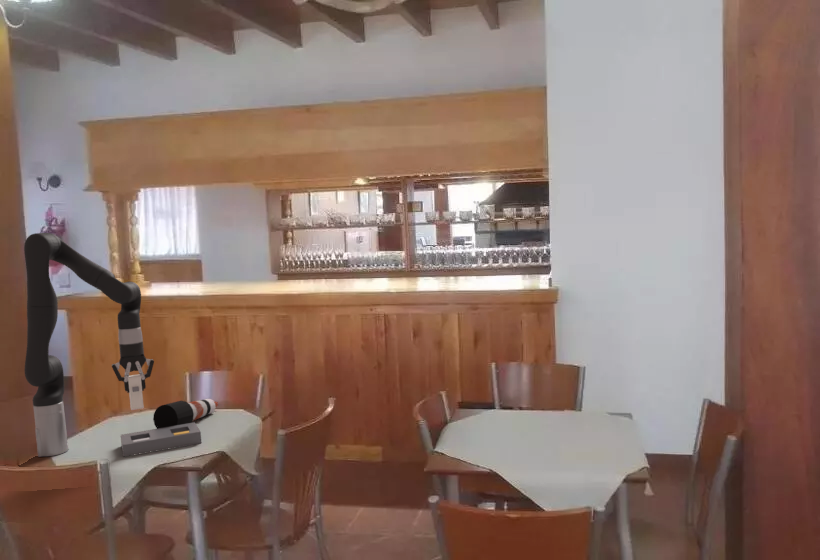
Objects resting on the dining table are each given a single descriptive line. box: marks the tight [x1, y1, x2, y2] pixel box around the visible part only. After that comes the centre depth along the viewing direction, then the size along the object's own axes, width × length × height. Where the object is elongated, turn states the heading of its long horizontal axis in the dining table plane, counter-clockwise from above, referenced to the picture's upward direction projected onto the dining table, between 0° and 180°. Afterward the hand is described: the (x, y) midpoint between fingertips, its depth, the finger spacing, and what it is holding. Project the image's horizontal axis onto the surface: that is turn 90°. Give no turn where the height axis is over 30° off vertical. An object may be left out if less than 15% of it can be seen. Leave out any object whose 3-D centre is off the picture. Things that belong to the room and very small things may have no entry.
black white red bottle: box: [152, 398, 219, 429], centre depth 280 cm, size 10×34×10 cm, turn 164°
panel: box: [120, 421, 203, 457], centre depth 253 cm, size 25×14×4 cm, turn 114°
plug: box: [128, 374, 145, 411], centre depth 248 cm, size 4×5×11 cm
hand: (135, 391), depth 249 cm, fingers closed on plug, 4 cm apart
